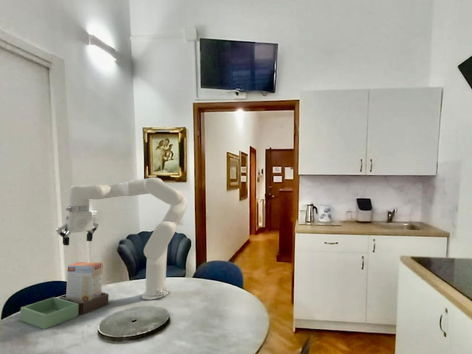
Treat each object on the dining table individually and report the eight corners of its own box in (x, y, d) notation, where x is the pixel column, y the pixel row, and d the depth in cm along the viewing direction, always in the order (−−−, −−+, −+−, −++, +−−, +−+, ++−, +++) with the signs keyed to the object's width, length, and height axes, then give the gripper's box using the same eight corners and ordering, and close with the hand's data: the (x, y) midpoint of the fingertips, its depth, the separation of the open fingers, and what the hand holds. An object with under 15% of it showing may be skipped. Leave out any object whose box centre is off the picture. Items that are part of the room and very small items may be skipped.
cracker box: (101, 303, 128) (103, 262, 129) (90, 309, 122) (92, 266, 123) (77, 302, 130) (79, 261, 131) (64, 307, 124) (67, 264, 125)
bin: (78, 316, 116) (78, 303, 116) (44, 329, 105) (45, 315, 105) (53, 308, 123) (54, 296, 123) (19, 320, 112) (20, 307, 112)
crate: (109, 303, 128) (109, 293, 128) (81, 314, 117) (82, 303, 117) (85, 297, 135) (85, 288, 135) (57, 307, 124) (58, 297, 124)
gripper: (62, 211, 118) (60, 247, 117) (103, 208, 134) (102, 240, 134) (52, 210, 120) (51, 246, 120) (93, 207, 137) (92, 239, 136)
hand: (78, 243), depth 127 cm, fingers open, 9 cm apart
